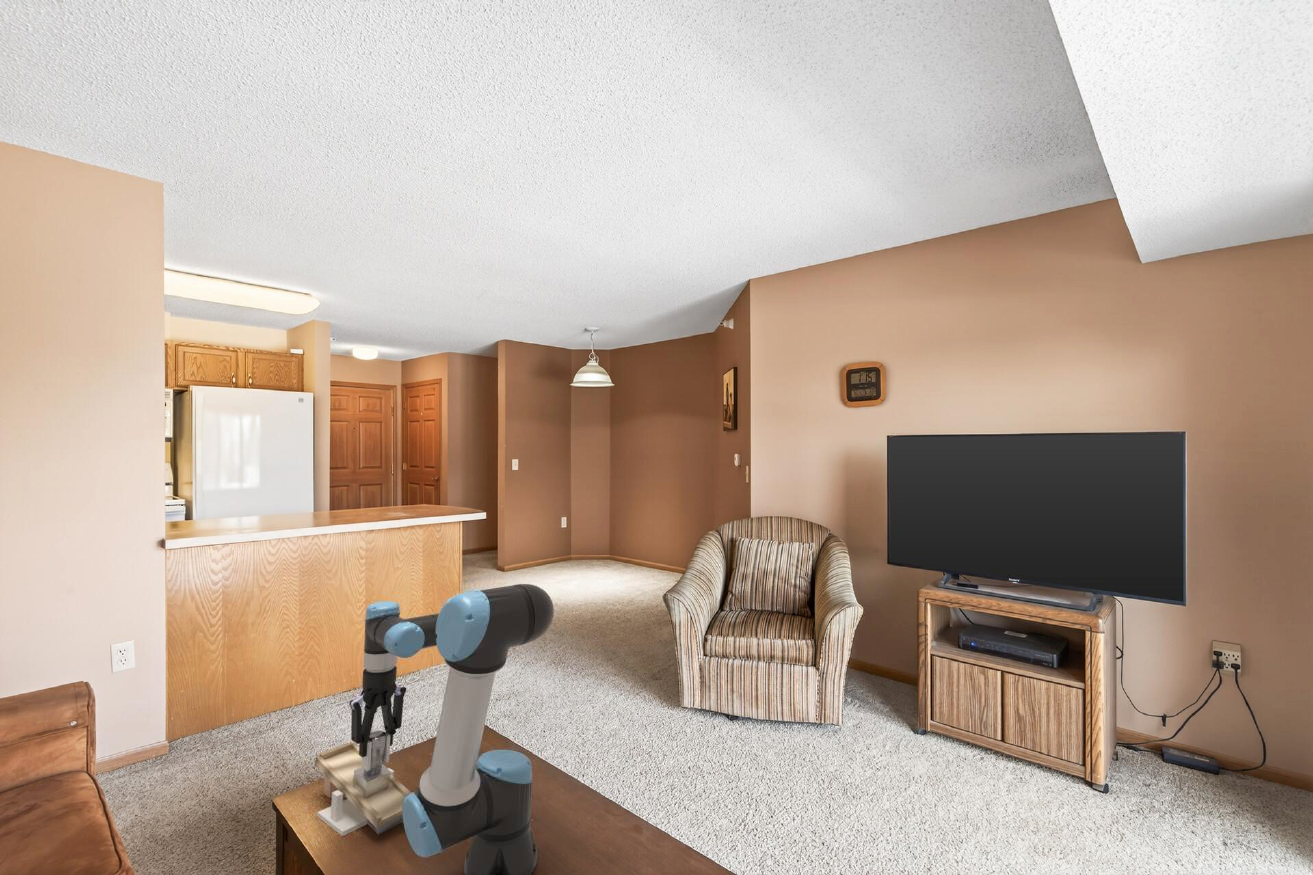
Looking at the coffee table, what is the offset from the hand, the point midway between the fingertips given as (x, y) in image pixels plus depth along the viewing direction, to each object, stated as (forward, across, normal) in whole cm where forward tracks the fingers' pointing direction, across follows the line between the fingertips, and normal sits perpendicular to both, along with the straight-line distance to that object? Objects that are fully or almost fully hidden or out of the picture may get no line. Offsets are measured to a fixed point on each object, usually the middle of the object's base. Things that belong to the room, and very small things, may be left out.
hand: (375, 764), depth 144 cm
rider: (+6, 0, -2) cm, 6 cm away
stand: (+13, 0, -9) cm, 15 cm away
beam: (+9, 0, -5) cm, 10 cm away
